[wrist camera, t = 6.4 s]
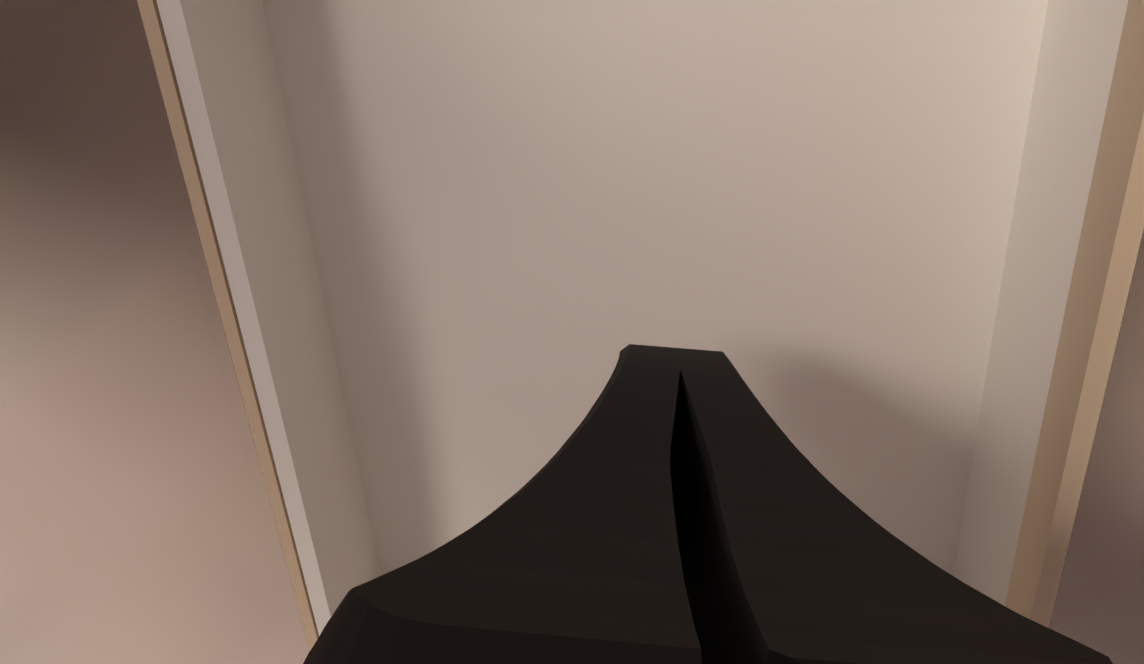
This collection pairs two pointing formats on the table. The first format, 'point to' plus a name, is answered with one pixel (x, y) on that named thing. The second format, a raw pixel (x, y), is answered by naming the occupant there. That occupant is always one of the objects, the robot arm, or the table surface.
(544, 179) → the carton
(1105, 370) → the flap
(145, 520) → the table surface
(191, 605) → the table surface
